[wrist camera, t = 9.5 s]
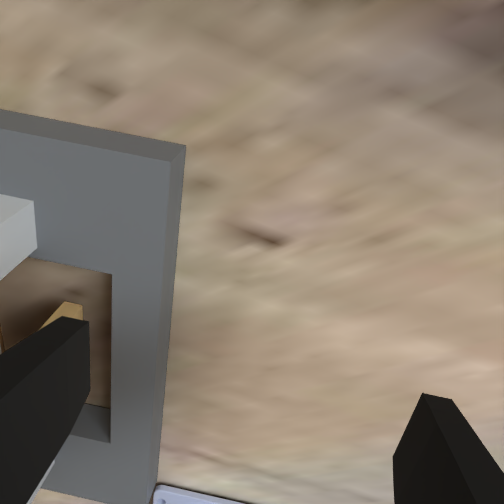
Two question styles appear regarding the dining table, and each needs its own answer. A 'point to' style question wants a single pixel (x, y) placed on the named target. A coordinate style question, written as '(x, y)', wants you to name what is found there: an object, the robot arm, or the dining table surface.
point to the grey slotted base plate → (107, 261)
